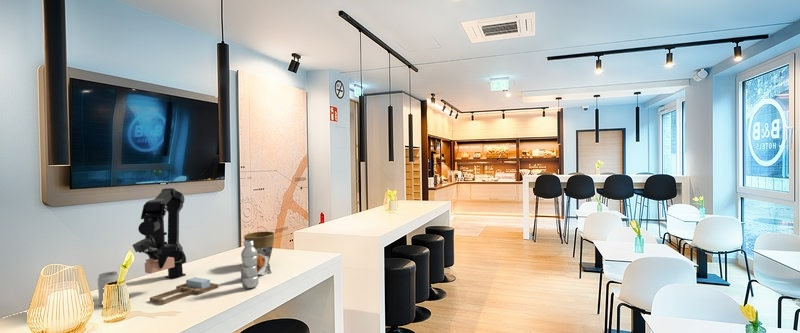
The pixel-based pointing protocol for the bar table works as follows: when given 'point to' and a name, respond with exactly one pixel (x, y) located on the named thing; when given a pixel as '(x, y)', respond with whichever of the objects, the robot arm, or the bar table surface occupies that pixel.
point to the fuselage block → (153, 265)
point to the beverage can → (105, 282)
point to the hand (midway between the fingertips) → (158, 267)
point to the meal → (261, 262)
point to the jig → (181, 288)
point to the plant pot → (261, 239)
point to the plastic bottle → (249, 265)
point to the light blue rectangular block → (198, 283)
